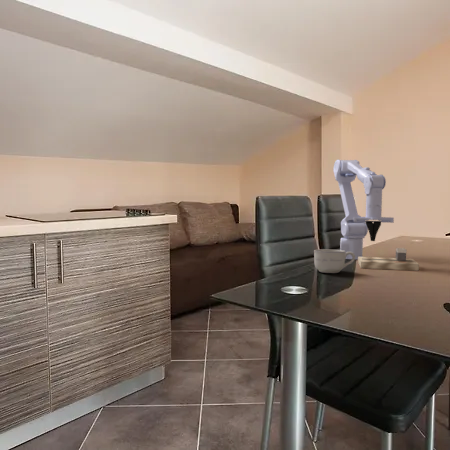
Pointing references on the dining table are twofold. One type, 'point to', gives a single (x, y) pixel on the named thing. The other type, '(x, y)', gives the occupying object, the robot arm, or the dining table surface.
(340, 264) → the teacup
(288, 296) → the dining table surface
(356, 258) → the robot arm
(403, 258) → the fader
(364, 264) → the console
